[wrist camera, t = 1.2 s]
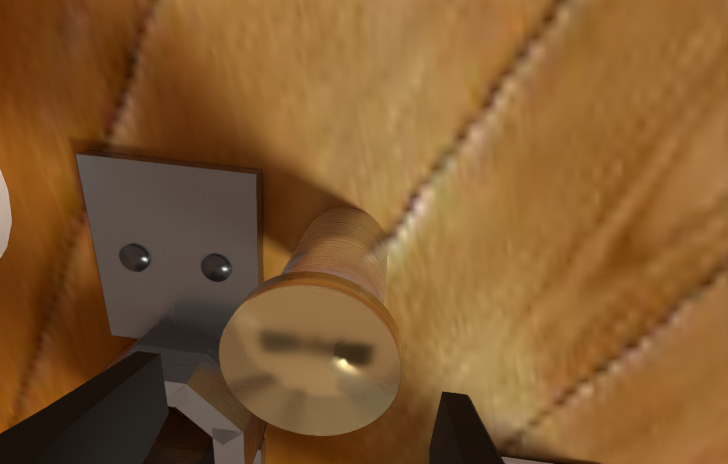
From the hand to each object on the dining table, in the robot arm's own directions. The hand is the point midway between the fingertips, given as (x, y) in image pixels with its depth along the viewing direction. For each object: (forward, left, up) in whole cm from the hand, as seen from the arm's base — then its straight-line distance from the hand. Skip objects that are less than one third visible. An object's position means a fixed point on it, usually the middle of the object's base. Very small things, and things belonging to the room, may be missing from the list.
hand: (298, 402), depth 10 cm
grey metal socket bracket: (+8, +10, -9) cm, 16 cm away
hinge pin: (0, 0, -9) cm, 9 cm away
